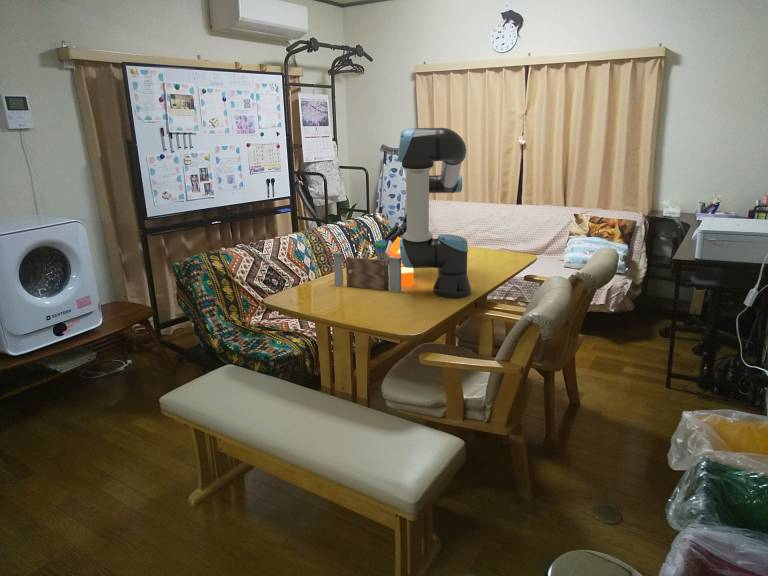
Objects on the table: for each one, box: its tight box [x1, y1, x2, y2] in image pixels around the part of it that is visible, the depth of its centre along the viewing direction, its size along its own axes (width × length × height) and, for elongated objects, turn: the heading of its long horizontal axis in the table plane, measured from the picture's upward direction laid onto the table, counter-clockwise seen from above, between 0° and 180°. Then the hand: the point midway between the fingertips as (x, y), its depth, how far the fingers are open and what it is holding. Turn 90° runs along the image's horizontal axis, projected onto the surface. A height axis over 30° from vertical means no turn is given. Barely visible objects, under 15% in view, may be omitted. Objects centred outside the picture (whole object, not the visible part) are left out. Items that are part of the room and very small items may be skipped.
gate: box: [345, 256, 390, 291], centre depth 220 cm, size 19×2×12 cm, turn 66°
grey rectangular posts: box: [332, 251, 402, 293], centre depth 220 cm, size 30×3×14 cm, turn 66°
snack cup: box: [373, 239, 395, 264], centre depth 266 cm, size 16×10×10 cm
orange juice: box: [390, 237, 414, 288], centre depth 225 cm, size 8×9×20 cm
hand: (401, 256), depth 225 cm, fingers open, 13 cm apart
